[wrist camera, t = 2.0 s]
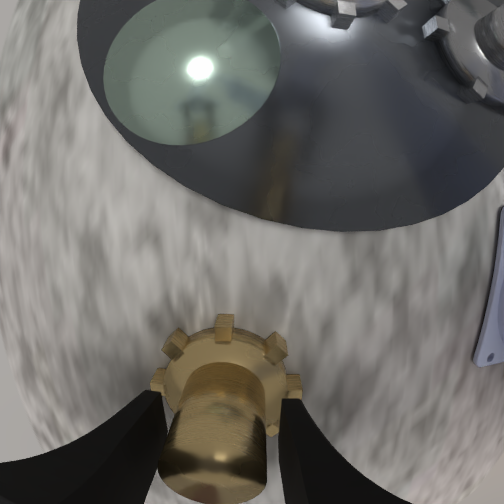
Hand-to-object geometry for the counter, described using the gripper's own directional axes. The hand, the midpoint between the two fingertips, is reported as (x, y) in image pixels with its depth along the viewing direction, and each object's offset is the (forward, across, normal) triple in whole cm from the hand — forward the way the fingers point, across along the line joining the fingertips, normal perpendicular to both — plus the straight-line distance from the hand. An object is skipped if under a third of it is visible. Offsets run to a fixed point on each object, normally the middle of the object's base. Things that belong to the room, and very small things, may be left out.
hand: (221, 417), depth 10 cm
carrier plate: (+3, -4, -17) cm, 18 cm away
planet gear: (+3, 0, 0) cm, 3 cm away
